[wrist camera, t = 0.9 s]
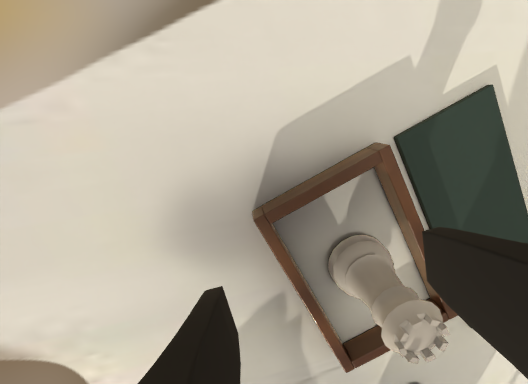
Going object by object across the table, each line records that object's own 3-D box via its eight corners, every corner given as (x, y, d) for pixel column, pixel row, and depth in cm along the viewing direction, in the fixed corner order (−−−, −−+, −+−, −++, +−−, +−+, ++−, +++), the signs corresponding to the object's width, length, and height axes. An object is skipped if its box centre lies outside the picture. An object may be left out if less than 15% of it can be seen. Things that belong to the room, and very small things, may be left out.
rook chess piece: (379, 224, 20) (466, 290, 13) (387, 276, 22) (471, 364, 14) (320, 241, 20) (372, 317, 12) (331, 292, 21) (385, 390, 14)
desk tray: (442, 300, 23) (459, 315, 21) (337, 354, 23) (346, 373, 21) (375, 141, 19) (390, 144, 17) (251, 210, 19) (253, 220, 17)
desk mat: (543, 286, 23) (548, 289, 23) (468, 325, 24) (471, 328, 23) (487, 84, 18) (493, 84, 18) (393, 137, 19) (396, 137, 18)
